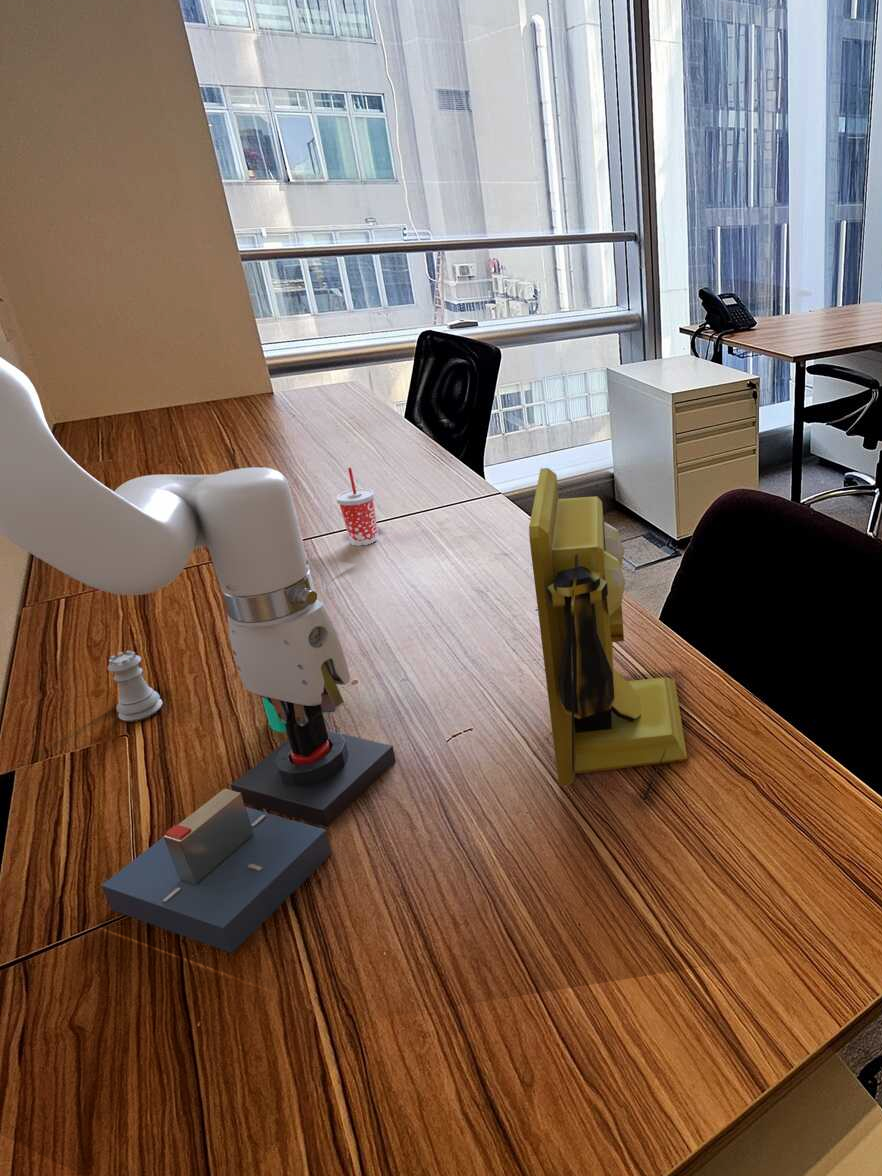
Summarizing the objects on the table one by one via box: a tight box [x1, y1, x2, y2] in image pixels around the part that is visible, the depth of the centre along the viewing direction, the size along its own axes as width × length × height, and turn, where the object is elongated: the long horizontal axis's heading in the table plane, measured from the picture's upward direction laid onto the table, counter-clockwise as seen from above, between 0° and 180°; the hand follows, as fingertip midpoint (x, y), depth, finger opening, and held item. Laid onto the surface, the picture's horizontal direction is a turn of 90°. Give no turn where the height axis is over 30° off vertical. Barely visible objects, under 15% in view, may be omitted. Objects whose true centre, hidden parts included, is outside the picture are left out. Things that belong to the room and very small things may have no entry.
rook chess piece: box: [106, 650, 163, 723], centre depth 93 cm, size 4×4×8 cm
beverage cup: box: [335, 467, 379, 547], centre depth 138 cm, size 6×6×14 cm
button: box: [291, 740, 331, 765], centre depth 82 cm, size 4×4×2 cm
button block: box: [230, 729, 397, 828], centre depth 83 cm, size 12×10×4 cm
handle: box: [162, 788, 254, 884], centre depth 70 cm, size 6×2×5 cm, turn 162°
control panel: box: [100, 806, 333, 954], centre depth 71 cm, size 14×11×3 cm
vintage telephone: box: [528, 467, 688, 802], centre depth 85 cm, size 31×14×30 cm, turn 9°
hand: (311, 746), depth 82 cm, fingers closed
